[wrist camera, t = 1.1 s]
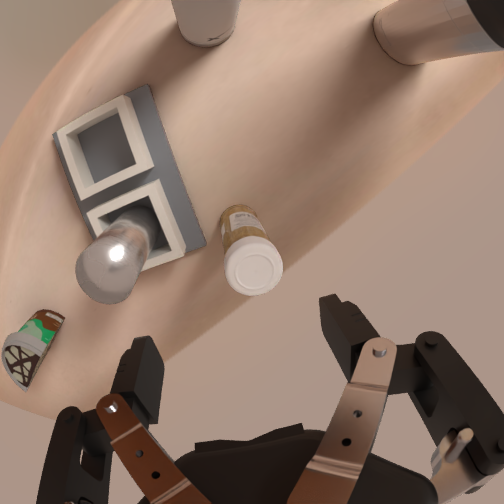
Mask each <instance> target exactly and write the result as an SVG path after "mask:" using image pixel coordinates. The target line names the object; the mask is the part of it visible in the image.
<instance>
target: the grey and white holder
mask: <svg viewBox="0 0 504 504" xmlns="http://www.w3.org/2000/svg"><path fill="white" fill-rule="evenodd" d="M52 135H53V138H54V141H55V144H56V147H57V150H58V153H59V156H60V159H61V162H62V165H63V168H64V171H65V173H66V176H67V179H68V181H69V184H70V187H71V189H72V192H73V194H74V197H75V199H76V202H77V204H78V207H79V209H80V211H81V214H82V216H83V218H84V221H85V223H86V225H87V227H88V230H89V232H90V234H91V236H92V238H93V240H95V239H96V238H97V237H98V236H99V235H100V234H101V233H102V232H103V231H104V230H105V229H106V228H107V227H108V226H110V225H111V224H112V223H113V222H114V221H115V220H116V219H117V218H118V217H119V216H120V215H121V214H122V213H124V212H125V211H126V210H127V209H128V208H130V207H132V206H135V205H143V206H146V207H149V208H150V209H152V210H153V211H154V212H155V213H156V215H157V217H158V219H159V222H160V233H159V235H158V237H157V239H156V241H155V243H154V245H153V247H152V249H151V251H150V253H149V255H148V257H147V259H146V261H145V263H144V266H143V268H142V270H141V271H144V270H147V269H149V268H152V267H155V266H158V265H161V264H163V263H166V262H169V261H172V260H174V259H177V258H180V257H183V256H184V254H185V253H186V252H189V251H192V250H195V249H198V248H201V247H203V246H206V240H205V238H204V235H203V233H202V230H201V227H200V225H199V222H198V220H197V217H196V215H195V212H194V209H193V207H192V204H191V202H190V199H189V196H188V194H187V191H186V188H185V186H184V183H183V180H182V178H181V175H180V172H179V170H178V167H177V164H176V161H175V159H174V156H173V153H172V150H171V148H170V145H169V142H168V139H167V136H166V133H165V131H164V128H163V125H162V122H161V119H160V116H159V113H158V110H157V107H156V104H155V101H154V98H153V95H152V92H151V89H150V86H149V85H148V84H146V85H144V86H142V87H139V88H137V89H135V90H133V91H131V92H128V93H126V94H124V95H121V96H119V97H116V98H114V99H112V100H110V101H108V102H106V103H104V104H103V105H101V106H99V107H97V108H95V109H93V110H91V111H89V112H88V113H86V114H84V115H82V116H81V117H79V118H77V119H75V120H74V121H72V122H70V123H69V124H67V125H65V126H64V127H62V128H61V129H59V130H57V131H56V132H55V133H54V134H52Z"/></svg>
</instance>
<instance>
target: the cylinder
mask: <svg viewBox="0 0 504 504" xmlns="http://www.w3.org/2000/svg"><path fill="white" fill-rule="evenodd" d="M159 233H160V222H159V219H158V217H157V215H156V213H155V212H154V211H153V210H152V209H150V208H149V207H146V206H143V205H135V206H132V207H130V208H128V209H127V210H126V211H125V212H124V213H122V214H121V215H120V216H119V217H118V218H117V219H116V220H115V221H114V222H113V223H112V224H111V225H110V226H108V227H107V228H106V229H105V230H104V231H103V232H102V233H101V234H100V235H99V236H98V237H97V238H96V239H95V240H94V241H93V242H92V243H91V244H90V245H89V246H88V247H87V248H86V249H85V250H84V251H83V252H82V253H81V254H80V256H79V257H78V259H77V262H76V270H75V271H76V277H77V280H78V283H79V285H80V287H81V288H82V290H83V291H84V292H85V293H86V294H87V295H88V296H89V297H90V298H92V299H93V300H95V301H97V302H100V303H103V304H117V303H120V302H122V301H123V300H125V299H126V298H127V297H128V296H129V295H130V293H131V291H132V289H133V287H134V284H135V282H136V280H137V278H138V276H139V274H140V272H141V270H142V268H143V266H144V263H145V261H146V259H147V257H148V255H149V253H150V251H151V249H152V247H153V245H154V243H155V241H156V239H157V237H158V235H159Z"/></svg>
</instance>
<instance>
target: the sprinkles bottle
mask: <svg viewBox="0 0 504 504" xmlns="http://www.w3.org/2000/svg"><path fill="white" fill-rule="evenodd" d="M220 228H221V234H222V242H223V246H224V253H225V258H224V270H225V276H226V279H227V281H228V283H229V285H230V286H231V287H232V288H233V289H234V290H235V291H237V292H238V293H241V294H243V295H247V296H258V295H262V294H265V293H266V292H268V291H270V290H271V289H273V288H274V287H275V286H276V285H277V284H278V282H279V281H280V279H281V276H282V273H283V263H282V259H281V257H280V255H279V253H278V251H277V249H276V248H275V246H274V245H273V244H272V243H271V242H270V240H269V238H268V236H267V234H266V232H265V230H264V228H263V227H262V225H261V223H260V222H259V220H258V219H257V216H256V214H255V212H254V211H253V210H252V209H251V208H249V207H247V206H244V205H235V206H232V207H229V208H228V209H227V210H226V211H225V212H224V213H223V214H222V216H221V220H220Z"/></svg>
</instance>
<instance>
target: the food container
mask: <svg viewBox="0 0 504 504" xmlns="http://www.w3.org/2000/svg"><path fill="white" fill-rule="evenodd" d="M64 319H65V317H63V316H62V315H60V314H59V313H56V312H54V311H52V310H44V309H43V310H40V311H37V312H36V313H35V314H34V315H33V316H32V317H31V318H30V319H29V320H28V321H27V322H26V323H25V324H24V326H23V327H22V328H21V329H20V330H19V331H18V332H15V333H11V334H10V335H8V337H7V338H6V340H5V343H4V345H3V348H2V362H3V365H4V367H5V369H6V371H7V373H8V374H9V376H10V377H11V379H12V380H13V381H14V382H15V383H16V384H17V385H18V386H19V387H20V388H21V389H22V390H24V391H25V392H27V390H28V388H29V386H30V384H31V382H32V380H33V378H34V376H35V374H36V372H37V370H38V369H39V367H40V365H41V363H42V361H43V359H44V358H45V356H46V354H47V352H48V351H49V349H50V347H51V345H52V343H53V340H54V338H55V336H56V334H57V332H58V331H59V329H60V327H61V325H62V323H63V321H64Z"/></svg>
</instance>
